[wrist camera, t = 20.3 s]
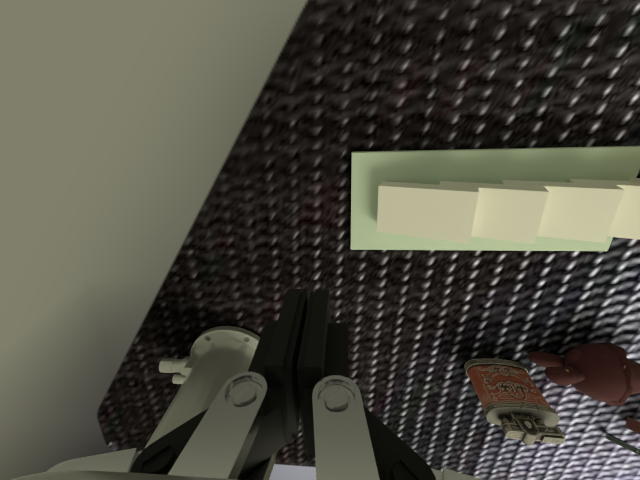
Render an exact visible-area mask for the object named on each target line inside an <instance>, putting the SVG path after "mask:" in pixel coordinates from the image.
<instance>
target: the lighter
mask: <svg viewBox="0 0 640 480" xmlns="http://www.w3.org/2000/svg"><path fill="white" fill-rule="evenodd" d="M464 369H465V372H466V374H467V376H468V377H470V380H471V382H472V384H473V386H474V388H475V391H476V393H477V395H478V397H479V399H480V401H481V404H482V406H483V408H484V414H485V416H486V418H487V421H488V422H490V423H492V424H496V425H501V426H502V429H503V431H504V433H505V435H506V437H507V438H512V439H520V440H521V441H522V442H523V443H525V444H528V445H532V444H533V443H534V441H542V442H546V443H558V444H562V443H564V441H565V436H564V434H563V433H562V431H561V430H560V428H558V427H554V426H555V425H557V423H558V422H559V416H558V414H557V413H556V411H555V410H554V409H553V408H551V407H550V406H549V404H548V403H547V401H546V400H545V398H544V397H543V395H542V394H541V392H540V391H539V389H538V388H537V386H536V385H535V384H534V382H533V381H532V379H531V378H530V376H529V375H528V371H527V369H526V368H525V366H524V365H523V364H522V363H519V362H514V361H510V360H503V359H472V360H469V361H467V362H466V363H465V365H464Z"/></svg>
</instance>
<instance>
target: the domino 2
mask: <svg viewBox="0 0 640 480" xmlns="http://www.w3.org/2000/svg"><path fill="white" fill-rule="evenodd" d="M440 185H454V186H471V187H478V189H479V194H478V199H477V205H476V211H475V216H474V222H473V227H472V233H471V237H479V238H488V239H496V240H505V241H513V242H522V243H531V244H535V241H536V237H537V234H538V230H539V226H540V223H541V219H542V216H543V212H544V208H545V205H546V201H547V198H548V194H549V191H548V190H547V189H546V188H545V187H543V186H525V185H507V184H489V183H470V182H452V181H440Z"/></svg>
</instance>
